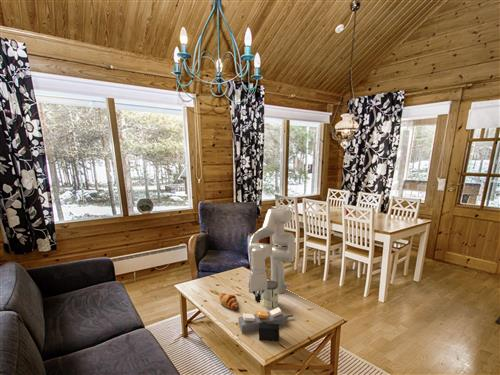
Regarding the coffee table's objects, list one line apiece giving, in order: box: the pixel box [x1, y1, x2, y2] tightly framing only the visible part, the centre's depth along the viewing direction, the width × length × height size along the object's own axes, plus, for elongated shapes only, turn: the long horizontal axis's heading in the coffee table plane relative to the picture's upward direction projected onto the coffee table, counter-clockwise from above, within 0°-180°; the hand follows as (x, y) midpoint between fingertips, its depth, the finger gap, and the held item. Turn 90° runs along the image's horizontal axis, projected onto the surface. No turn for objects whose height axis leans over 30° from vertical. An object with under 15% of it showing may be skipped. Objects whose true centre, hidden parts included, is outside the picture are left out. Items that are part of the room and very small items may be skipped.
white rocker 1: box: [242, 312, 255, 321], centre depth 137 cm, size 6×4×2 cm, turn 105°
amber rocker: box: [255, 310, 269, 319], centre depth 139 cm, size 6×4×2 cm, turn 105°
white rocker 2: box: [268, 306, 283, 318], centre depth 141 cm, size 6×4×2 cm, turn 106°
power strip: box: [238, 310, 294, 334], centre depth 140 cm, size 32×8×4 cm, turn 106°
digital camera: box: [258, 322, 280, 343], centre depth 128 cm, size 10×5×7 cm, turn 84°
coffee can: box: [261, 279, 279, 310], centre depth 158 cm, size 10×10×14 cm
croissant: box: [219, 292, 239, 310], centre depth 160 cm, size 21×10×8 cm, turn 35°
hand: (258, 301), depth 137 cm, fingers closed
